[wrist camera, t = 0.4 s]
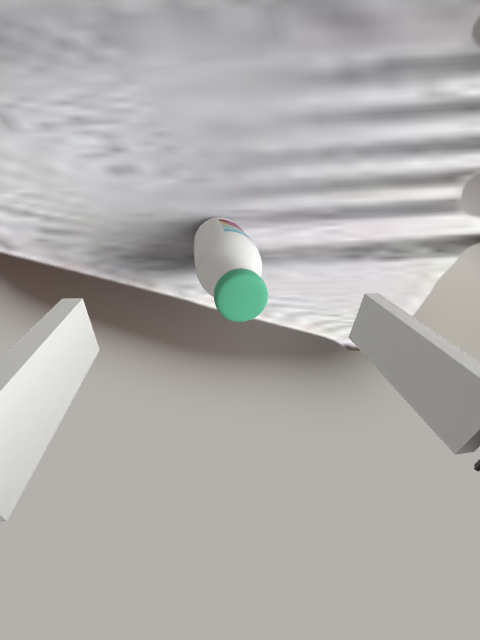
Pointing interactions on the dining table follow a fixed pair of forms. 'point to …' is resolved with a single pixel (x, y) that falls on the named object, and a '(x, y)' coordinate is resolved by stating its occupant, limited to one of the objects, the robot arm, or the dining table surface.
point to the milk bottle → (230, 269)
